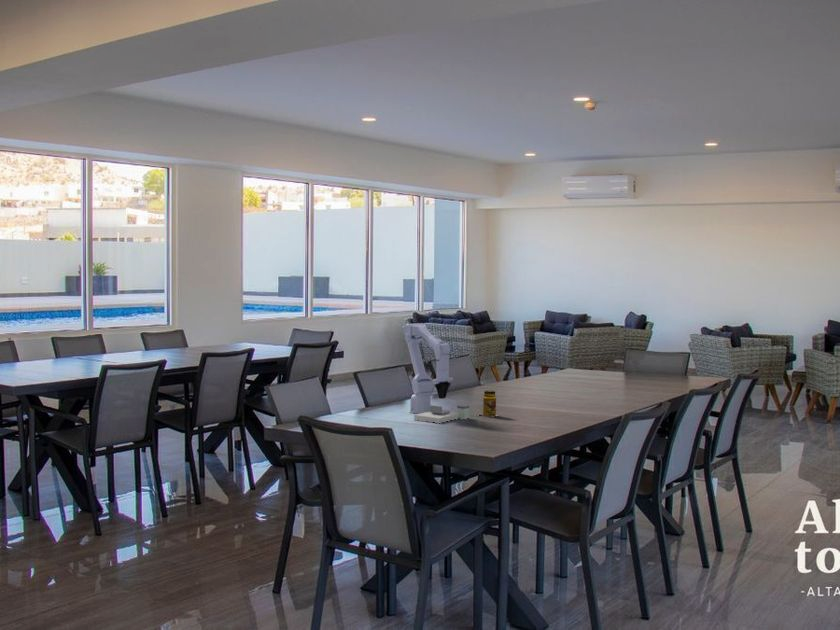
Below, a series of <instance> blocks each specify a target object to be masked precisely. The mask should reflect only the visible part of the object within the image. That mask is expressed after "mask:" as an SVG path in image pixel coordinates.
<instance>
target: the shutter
mask: <svg viewBox="0 0 840 630" xmlns="http://www.w3.org/2000/svg"><path fill="white" fill-rule="evenodd" d="M430 412H431V413H435V414H446V413H451V411H450V410H444V409H443V407H442V406H440V405H439V406H438V405H432V404H431V405H430Z"/></svg>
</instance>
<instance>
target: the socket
mask: <svg viewBox="0 0 840 630" xmlns="http://www.w3.org/2000/svg"><path fill="white" fill-rule="evenodd" d="M413 416H414V417H413V420H414V421H417V420H420V421H419V422H425V421H428V422H427V423H432V422H435V423H434V424H439V423H440V424H443V423H442V422H444V423H447V422H446V421H448V422H451V421H450V420H452V421H455V420H454V419H456V420H459V419H458V418H459V414H457V412H450V413H446V414H435V413H431V412H425V413H421V414H416V413H415V414H414V415H413Z"/></svg>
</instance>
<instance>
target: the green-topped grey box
mask: <svg viewBox="0 0 840 630" xmlns="http://www.w3.org/2000/svg"><path fill="white" fill-rule="evenodd" d="M456 407H457V408H456V413H457V414H459V418H460V419H459V420H463V419H465V420H468V419H467V418H469V419H470V405H468V404H467V405H465V404H460V405H457V406H456Z"/></svg>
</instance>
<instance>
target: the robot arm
mask: <svg viewBox="0 0 840 630" xmlns="http://www.w3.org/2000/svg"><path fill="white" fill-rule="evenodd" d="M403 328H404V329H403V335H404V338H405V342H406V343H407V348H408V351H409V355H410V359H411V364H412V368H413V371H414V375H415V376H414V377H413V379H412V380H411V384H412V385H411V389H412V393H413V394H412V395H411V397H410V408H409V409H410V411H409V413H410V414H415V415H416V414H421V413H425V412H430V405H432V402H431V401H432V400H431V399H432V395H433V393H434V392H435V389H436V392H437V395H438V399H442V400H443V399H446V398H447V394H448V390H449V388H450V387H451V385H452V384H451V382H453V381H454V377H452V376H450V375H449V374H450V373H449V372H450V368H449V367H450V355H451V354H452V350H453V348H452V345H451V344H450V343H449V342H444V341H443V340H442V339H441V338H440V337H439V335H437V334H436V335H435V334H434V335H433V334H432V333H431V332H430V331H429V330H428V326H427V325H426V324H425V323H423V322H421V323H406V324H404V327H403ZM423 340H426V341H427V345H428V346H429V347H430V348H432V349H433V352H434V355H435V359H436V371H435V372H436V375H435V376H436V378H434V379H433V378H432V377H431V376H430V375H429V374H427V372H426V368H425V365H424V360H423V356H422V352H421V349H420V342H422V341H423Z"/></svg>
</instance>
